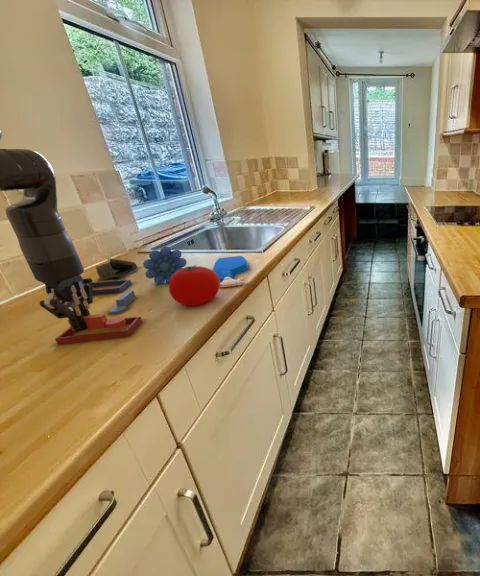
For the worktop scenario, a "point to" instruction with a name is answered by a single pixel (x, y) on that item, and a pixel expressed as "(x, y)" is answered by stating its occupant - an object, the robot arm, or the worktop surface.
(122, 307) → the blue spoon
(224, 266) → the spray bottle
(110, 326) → the red long stepped block
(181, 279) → the tomato
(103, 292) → the blue tray
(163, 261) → the blue flower
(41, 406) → the worktop surface
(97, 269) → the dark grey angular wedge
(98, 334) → the red tray
